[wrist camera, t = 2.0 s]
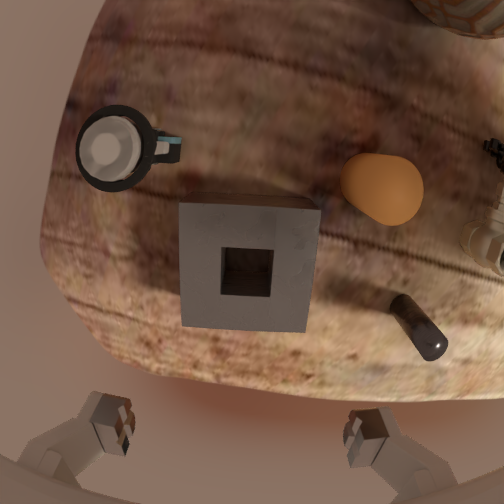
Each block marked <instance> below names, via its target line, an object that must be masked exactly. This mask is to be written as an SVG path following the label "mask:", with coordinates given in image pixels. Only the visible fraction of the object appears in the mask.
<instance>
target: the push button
mask: <svg viewBox="0 0 504 504" xmlns="http://www.w3.org/2000/svg"><path fill="white" fill-rule="evenodd" d="M119 116H126V117H128V118H130V119H132V120H133V121H134V122H135V123H136V124H135V123H132V122H129V121H128V120H127V119H125V118H122V117H119ZM157 130H161V129H157V128H152V127H151V125H150V123H149V121H148V120H147V119H146V117H145V116H144V115H143V114H141V113H140V112H139V111H137V110H136V109H134V108H131V107H128V106H124V105H110V106H107V107H104V108H101V109H99V110H98V111H96V112H95V113H93V114H92V115H91V116H90V117H89V118H88V119H87V120H86V122H85V123H84V124H83V126H82V128H81V130H80V132H79V134H78V138H77V142H76V161H77V165H78V168H79V170H80V172H81V174H82V175H83V177H84V178H85V180H86V181H87V182H88V183H89V184H91V185H92V186H93V187H95V188H97V189H99V190H101V191H105V192H120V191H124V190H126V189H129V188H131V187H133V186H134V185H136V184H137V183H138V182H140V181H141V180H142V179H143V178H144V176H145V175H146V174H147V172H148V171H149V170H150V168H151V165H154V164H158V163H177V162H179V160H180V149H181V139H182V137H164V136H165V132H164V131H157ZM131 172H134V173H133V174H132V175H131V176H130V177H128V178H127V179H125V180H119V179H122V178H124V177H126V176H127V175H128V174H129V173H131Z"/></svg>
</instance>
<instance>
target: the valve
mask: <svg viewBox="0 0 504 504" xmlns="http://www.w3.org/2000/svg"><path fill="white" fill-rule="evenodd" d="M489 148H490V149H491V156H492V157H494V158H496V163H497V166H498V168H500V172H501V173H502V174H504V144H503V143H501V141H499V140H497V139H494V138H491V140H490V141H487V140H485V141H484V145H483V150H484V151H486V152H488V151H489ZM495 195H496V196H498V200H497V202H493V206H492V207H489V206H487V209H486V212H485V216H486V217H487V220H486V223H483V222H481V221H479V220H476V221H473V222H470V223H468V224H465V225H464V227H463V231H462V234H461V237H460V240H459V243H460V245H461V246H462V248H463V249H464V251H465V252H466V254H468V255H469V256H471V257H472V258H474V260H475V261H476V262H477V263H478V264H479V265H481V266H482V267H485V268H491V269H492V271H494V272H495V273H497V274H498V275H500V276H501V277H502V276H504V177H503V182H502V183H501V182H499V183H498V186H497V190H496V194H495Z"/></svg>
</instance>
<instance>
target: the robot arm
mask: <svg viewBox="0 0 504 504" xmlns="http://www.w3.org/2000/svg"><path fill="white" fill-rule="evenodd" d="M131 407H132V403H131V400H130V399H129V398H124V397H120V396H115V395H110V394H106V393H101V392H97V391H93V392H91V393H90V395H89V396H88V398H87V400H86V402H85V404H84V405H83V407H82V409H81V411H80V413H79V414H78V416H77V418H72V419H70V420H68V421H66V422H64V423H62V424H60V425H59V426H57V427H55V428H53V429H51V430H49V431H47V432H45V433H43V434H41V435H39V436H38V437H36V438H34V439H32V440H30V441H29V442H28V444H27V445H26V447H25V449H24V450H23V452H22V454H21V455H20V457H19V459H18V461H17V462H15V461H13V460H10V459H9V458H7V457H5V456H3V455H1V454H0V504H139V503H135V502H130V501H126V500H122V499H118V498H114V497H110V496H106V495H103V494H99V493H96V492H93V491H89V490H86V489H83V488H81V486H80V484H79V483H78V481H77V480H76V478H75V477H76V476H77V475H78V474H79V473H81V472H82V471H83V470H85V469H86V468H87V467H88V466H90V465H91V464H92V463H94V462H95V461H96V460H97V459H98V458H100V457H101V456H102V455H104V454H105V453H110V454H114V455H119V456H125V455H126V453H127V450H128V447H129V440H128V438H130V437H131V436H133V433H134V430H135V415H134V413H133V412H132V411H131V410H130V409H131ZM348 417H349V422H347V423H346V425H345V427H344V430H343V441H344V446H345V447H346V448H347V449H349V451H348V454H347V457H348V461H349V465H350V468H355V467H366V466H371V468H373V469H374V470H375V471H376V472H377V473H378V474H379V475H380V476H381V477H382V478H383V479H384V480H385V481H386V482H387V483H388V484H389V485H391V487H393V488H394V489H395V490H396V491H397V492H398V493H399V494H398V495H397V496H396V497H395V499H394V500H393V501H392V502H391V504H504V466H503V467H500V468H498V469H496V470H494V471H491V472H489V473H487V474H484V475H482V476H479V477H477V478H474V479H472V480H469V481H466V482H464V483H461V484H458V483H457V481H456V479H455V476H454V474H453V472H452V470H451V468H450V466H449V464H448V462H447V461H445V460H443V459H442V458H440V457H439V456H437V455H436V454H434V453H433V452H431V451H430V450H428V449H427V448H425V447H424V446H422V445H421V444H419V443H417V442H416V441H414V440H413V439H412V438H410V437H409V436H407V435H402V433H401V430H400V428H399V426H398V423H397V421H396V419H395V417H394V415H393V412H392V410H391V408H390V407H389V406H385V407H376V408H365V409H354V410H351V411H350V413H349V416H348ZM104 452H105V453H104Z"/></svg>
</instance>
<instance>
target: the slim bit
mask: <svg viewBox="0 0 504 504" xmlns="http://www.w3.org/2000/svg"><path fill="white" fill-rule="evenodd" d="M390 311H391V313H392V315H393V316H394V318H395V319H396V320H397V322H398V323H399V324H400V326H401V327H402V329H403V330H404V331H405V333H406V334H407V336H408V337H409V338H410V340H411V341H412V343H413V344H414V345H415V347H416V348H417V350H418V351H419V353H420V354H421V356H422V357H423V358H424V360H426V361H434V360H436V359H438V358H440V357H441V356H442V355H443V354H444V353H445V351H446V349H447V347H448V340H447V338H446V337H445V336H444V335H443V333H442V332H441V331H440V330H439V329H438V328H437V326H436V325H435V324H434V323H433V322H432V321H431V320H430V318H429V317H428V316H427V315H426V314H425V313H424V312H423V311H422V309H421V308H420V307H419V306H418V305H417V304H416V303H415V302H414V301H413V299H412V298H411V297H410V296H408V295H406V294H402V295H399V296H397V297H396V298H395V299H394V300H393V301H392V303H391V305H390Z"/></svg>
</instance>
